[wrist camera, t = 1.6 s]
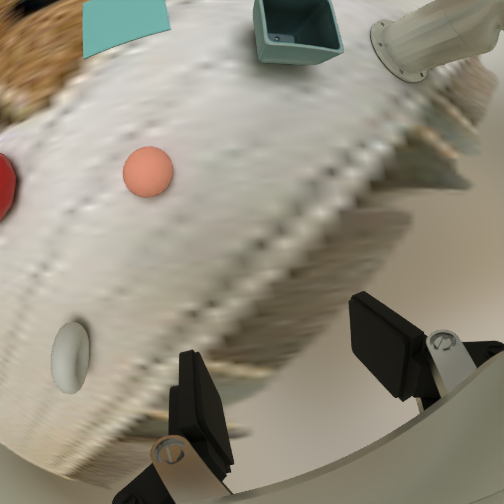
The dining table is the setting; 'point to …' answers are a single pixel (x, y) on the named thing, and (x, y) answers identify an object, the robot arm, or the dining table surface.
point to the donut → (70, 357)
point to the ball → (147, 171)
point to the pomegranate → (6, 185)
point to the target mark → (120, 22)
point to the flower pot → (296, 31)
